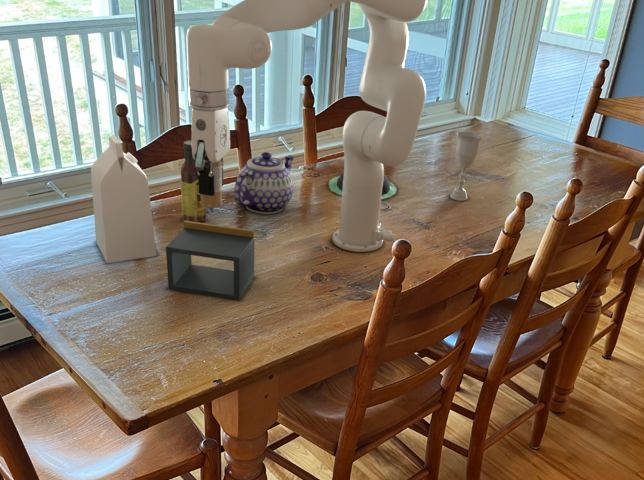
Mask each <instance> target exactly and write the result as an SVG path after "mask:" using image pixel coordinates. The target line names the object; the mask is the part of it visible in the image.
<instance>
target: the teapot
mask: <svg viewBox="0 0 644 480" xmlns="http://www.w3.org/2000/svg"><path fill="white" fill-rule="evenodd" d="M272 156H273V155H272V154H271V153H270V152H268V151H264V152H262V153H261V154H260V156H256V157H252V158H249V159H248V160H247V161H246V164H245V165H244V166H243V167H242V168H241V169H240V170H239V171H238V174H237V178H236V180H235V184H234V188H233V189H234V190H233V197H234V201H235V202H236V204H237V205H239V206H240V207H245V208H246V209H247V210H249V211H251V212H253V213H255V214H261V215H269V214H270V215H272V214H277V213H279V212H281V211H282V210H283V208H284V207H286V206H287V205H288V204H290V202H291V200H292V198H293V194H294V179H293V175H292V173H291V172H292V171H291V170H292V164H293V160H294V158H295V156H294V155H289V154H287V155H285V157H284V158H283V160H282V159H279V158H276V157H272Z"/></svg>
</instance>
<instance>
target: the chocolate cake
mask: <svg viewBox="0 0 644 480" xmlns="http://www.w3.org/2000/svg"><path fill="white" fill-rule="evenodd" d="M343 178H344V172H343V173H342V174H341V175H338V176H336V177H333V178H331V179H330V180H329V181H328V188H329V189H330V191H331V192H333V193H335V194H337V195H339V196H342V190H343ZM396 193H397V186H395V184H394V183H392V182H391V181H389V179H388V178H387V175H386V174H385V173H384V180H383V187H382V196H381V200H384V199H389V198H391V197H393V196H394V195H396Z"/></svg>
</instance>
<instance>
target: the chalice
mask: <svg viewBox="0 0 644 480" xmlns="http://www.w3.org/2000/svg"><path fill="white" fill-rule="evenodd" d="M456 137H457V138H456V139H457V141H456V145H455V146H456V147H455V157H456V161H457V164H458V167H460V169H461V172H460V173H459V177H460V178H459V179H458V184H459V185H458V187H456V188H454V189H453V191H452V192H451V193H450V195H449V197H450V199H452V200H455V201H460V202H462V201H467V200H468V194H467V191H466V189H465V188H464V187H463V186H464V183H465V182H466V181H465V177H466V169H469V168H470V167H471V166H472V165H473V163H474V162H475V160H476V158H477V157H478V155H479V149H480V146H481V145H480V143H481V141H482V139H483V138H484V136H483V134H481V133H479V132H474V131H465V130H463V131H458V132H456Z"/></svg>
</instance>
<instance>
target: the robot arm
mask: <svg viewBox="0 0 644 480" xmlns="http://www.w3.org/2000/svg"><path fill="white" fill-rule="evenodd" d="M348 2H350V3H356V4H358V6H359V7H360V8H361V10H362V12H363V14H364V17H365V18H366V20H367V24H368V29H369V38H368V39H369V40H368V45H367V50H366V55H365V59H364V63H363V69H362V73H361V76H360V83H359V89H358V90H359V93H358V94H359V98H361V100H362V101H363V102H364V103H366V105H369V106H371V107H374V108H377V109H379V110H381V111H385V112H386V116H384V115H381V114H378V113H376V112H373V111H368V110H357V111H356V112H354V113H352V114H350V115H349V116H348V117H347V119H346V120H345V122H344V125H343V127H342V137H341V138H342V148H343V157H344V158H343V160H344V161H343V163H344V164H343V173H344V178H343V190H342V195H341V203H340V204H341V205H340V217H339V228H338V229H337V230H336V231H334V233H332V238H331V239H332V242H333V244H334V245H335V246H336V247H338V248H340V249H342V250H345V251H349V252H356V253H368V252H373V251H376V250H378V249H379V248H381V247H382V246H383V245H384V241H386V242H390V243H395V240H396V234H395V233H392V232H393V231H392V230H389V229H383V228H381V225H382V224H381V222H379V221H380V214H381V203H382V199H381V196H382V187H383V180H384V174H385V169H384V166H388V167H393V168H394V167H398V166H401V165H402V164H403V163H405V162H406V161H407V159H408V158H409V156H410V154H411V152H412V150H413V148H414V144H415V141H416V137H417V133H418V130H419V126H420V122H421V119H422V115H423V112H424V108H425V103H426V98H427V90H426V88H427V87H426V84H425V81H424V79H423V77H422V76H421V74H419V73H418V72H417V71H415V70H413V69H409V68H406V67H405V61H406V58H407V52H408V47H409V40H410V39H409V38H410V36H409V27H408V24H407V23H409V22H414V21H415V20H417V19H418V18H419V17H420V16H422V14H423V12H424V11H425V9H426V6H427V3H428V0H242V1H240V2H238V3H237V4H235V5H233V6H232V7H230V8H229V9H228V10H226V11H225V12H223V13H221V14H220V15H219V16H218V17H217V18H215V20H213V22H212V23H211V24H196V25H193V26H190V27H189V28H188V29H187V31H186V34H185V35H186V37H185V38H186V39H185V40H186V64H187V65H186V66H187V86H188V87H187V89H188V106H189V107H190V108H191V109H192V112H191V140H192V154H193V158H194V159H195V160H196V162H195V167H196V168H197V169H198V179H199V193H200V194H202V195H210V196H214V195H215V176H213V163H216V162H218V161H219V160H220V159H221V165H222V187H223V186H224V167H223V166H224V157H225V156H226V155H227V154H228V153H229V151H230V150H231V130H230V129H231V128H230V116H229V114H230V113H229V107H230V91H229V90H230V85H229V84H230V83H229V82H230V81H229V77H230V76H229V69H245V70H246V69H247V70H248V69H249V70H251V69H257V68H260V67H261V66H264V65H265V64H266V63H267V62H268V61H269V59H270V57H271V55H272V52H273V43H272V40H271V38H270V36H269V34H270V33H273V32H275V33H276V32H281V31H295V30H302V29H306V28H309V27H311V26H314V25H315V24H316V23H317V22H320V20H321V19H323V18H325V17H326V16H328V15H330V13H332V12H333V11H335V10H337V9H338V8H339V7H340V6H342V5H343V4H346V3H348ZM205 157H208V159H209V160H207V159H204V158H205ZM204 163H208V164H209V169H208V167H207V166H205V164H204Z"/></svg>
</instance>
